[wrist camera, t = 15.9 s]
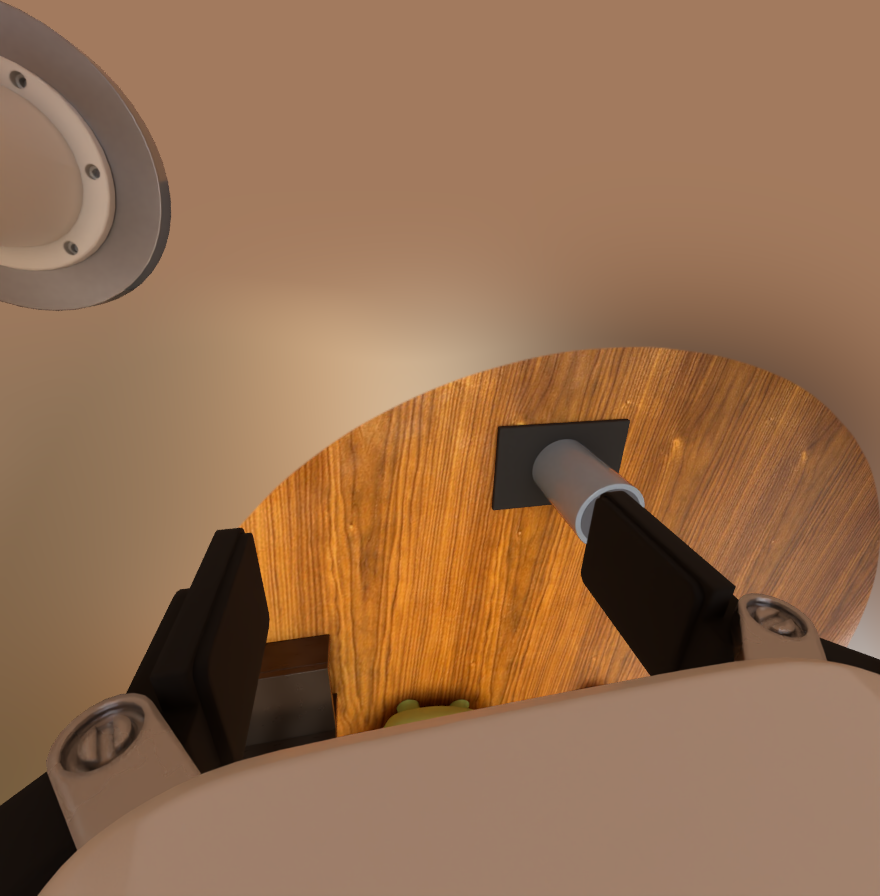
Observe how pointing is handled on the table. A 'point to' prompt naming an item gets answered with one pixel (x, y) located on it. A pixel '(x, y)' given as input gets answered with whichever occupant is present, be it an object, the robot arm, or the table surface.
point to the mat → (529, 440)
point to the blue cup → (577, 482)
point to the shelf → (292, 697)
